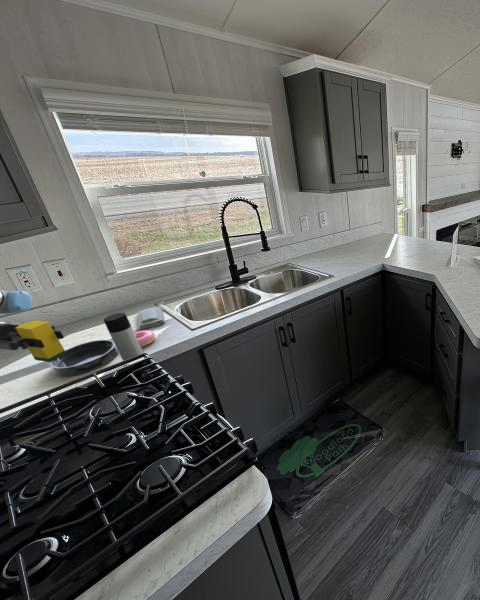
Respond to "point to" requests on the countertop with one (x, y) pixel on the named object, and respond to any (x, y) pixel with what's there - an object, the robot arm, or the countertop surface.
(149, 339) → the doughnut
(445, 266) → the countertop surface
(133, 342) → the spray can
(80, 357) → the bowl
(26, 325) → the sponge
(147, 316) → the soap mold
